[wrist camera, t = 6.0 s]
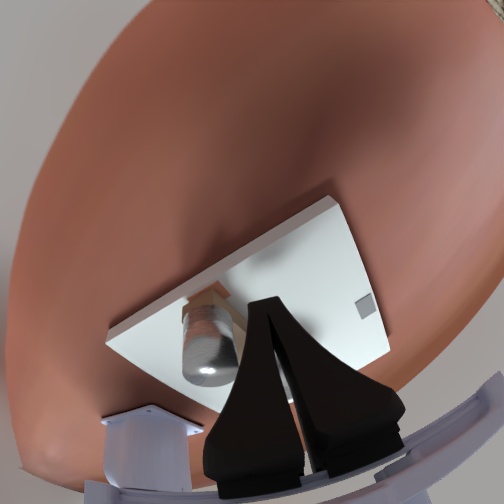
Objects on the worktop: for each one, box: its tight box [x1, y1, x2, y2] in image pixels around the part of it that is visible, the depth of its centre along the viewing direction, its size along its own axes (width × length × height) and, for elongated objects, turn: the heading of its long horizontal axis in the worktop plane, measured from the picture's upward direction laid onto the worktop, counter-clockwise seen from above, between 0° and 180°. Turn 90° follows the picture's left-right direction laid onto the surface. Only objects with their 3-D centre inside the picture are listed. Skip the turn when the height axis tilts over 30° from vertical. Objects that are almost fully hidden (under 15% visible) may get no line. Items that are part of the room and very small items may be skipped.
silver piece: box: [182, 288, 293, 400], centre depth 14 cm, size 11×5×4 cm, turn 34°
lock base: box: [105, 195, 390, 413], centre depth 18 cm, size 16×16×1 cm
